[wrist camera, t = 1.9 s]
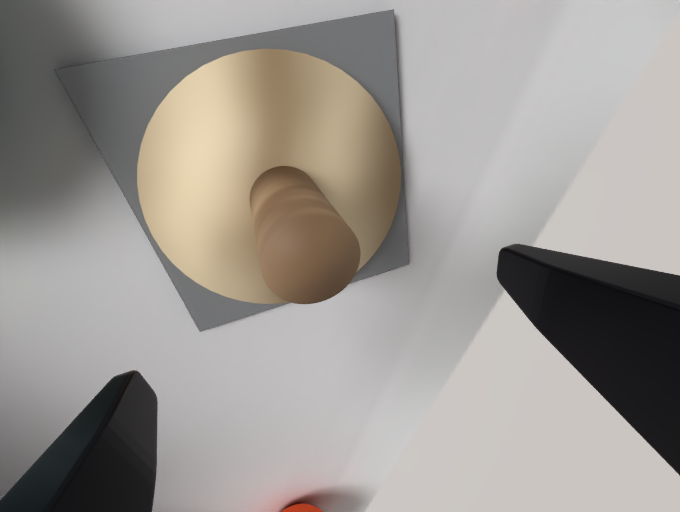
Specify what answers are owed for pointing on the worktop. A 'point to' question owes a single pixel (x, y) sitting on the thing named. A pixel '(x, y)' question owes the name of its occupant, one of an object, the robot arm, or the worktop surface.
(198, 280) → the lid
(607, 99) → the worktop surface
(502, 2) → the worktop surface
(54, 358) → the worktop surface
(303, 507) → the clementine
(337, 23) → the mat
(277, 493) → the worktop surface
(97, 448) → the robot arm
